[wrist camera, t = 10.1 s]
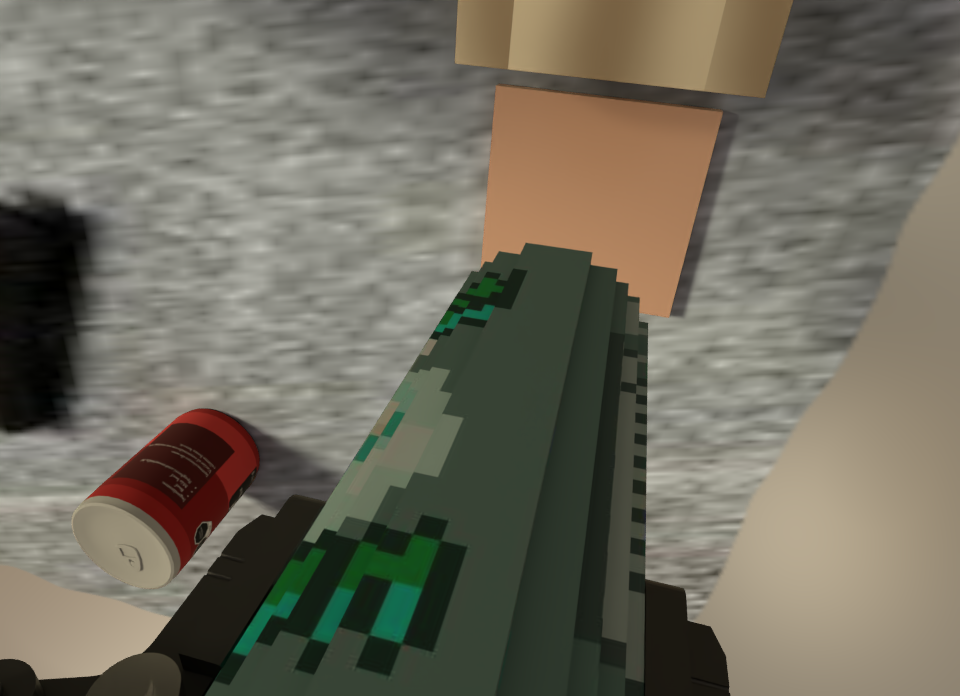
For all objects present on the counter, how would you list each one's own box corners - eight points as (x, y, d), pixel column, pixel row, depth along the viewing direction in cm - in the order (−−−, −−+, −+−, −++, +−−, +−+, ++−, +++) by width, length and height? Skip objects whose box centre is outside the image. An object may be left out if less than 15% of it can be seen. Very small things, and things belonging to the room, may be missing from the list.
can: (461, 233, 19) (92, 712, 6) (662, 262, 18) (686, 900, 5) (453, 393, 22) (195, 924, 10) (623, 426, 21) (583, 1068, 9)
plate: (482, 279, 37) (479, 285, 36) (499, 83, 32) (495, 85, 31) (668, 311, 35) (668, 317, 35) (721, 109, 30) (723, 112, 29)
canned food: (208, 487, 53) (114, 592, 44) (159, 412, 50) (46, 507, 40) (280, 479, 50) (196, 588, 41) (233, 398, 47) (130, 497, 38)
